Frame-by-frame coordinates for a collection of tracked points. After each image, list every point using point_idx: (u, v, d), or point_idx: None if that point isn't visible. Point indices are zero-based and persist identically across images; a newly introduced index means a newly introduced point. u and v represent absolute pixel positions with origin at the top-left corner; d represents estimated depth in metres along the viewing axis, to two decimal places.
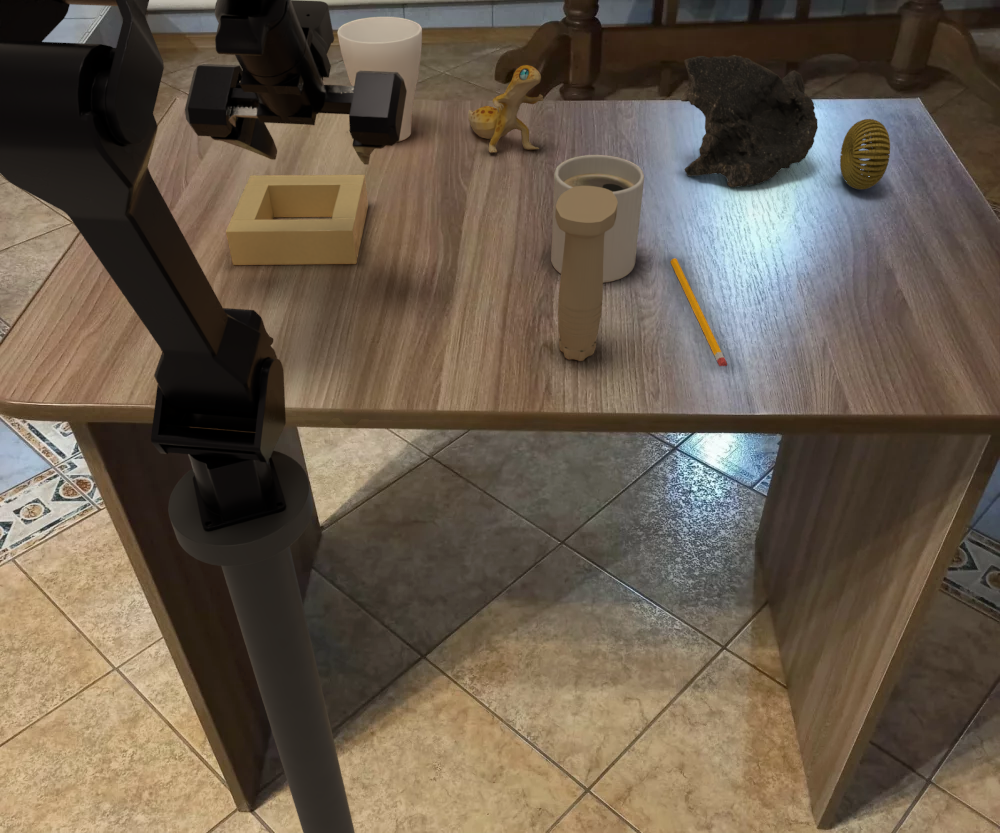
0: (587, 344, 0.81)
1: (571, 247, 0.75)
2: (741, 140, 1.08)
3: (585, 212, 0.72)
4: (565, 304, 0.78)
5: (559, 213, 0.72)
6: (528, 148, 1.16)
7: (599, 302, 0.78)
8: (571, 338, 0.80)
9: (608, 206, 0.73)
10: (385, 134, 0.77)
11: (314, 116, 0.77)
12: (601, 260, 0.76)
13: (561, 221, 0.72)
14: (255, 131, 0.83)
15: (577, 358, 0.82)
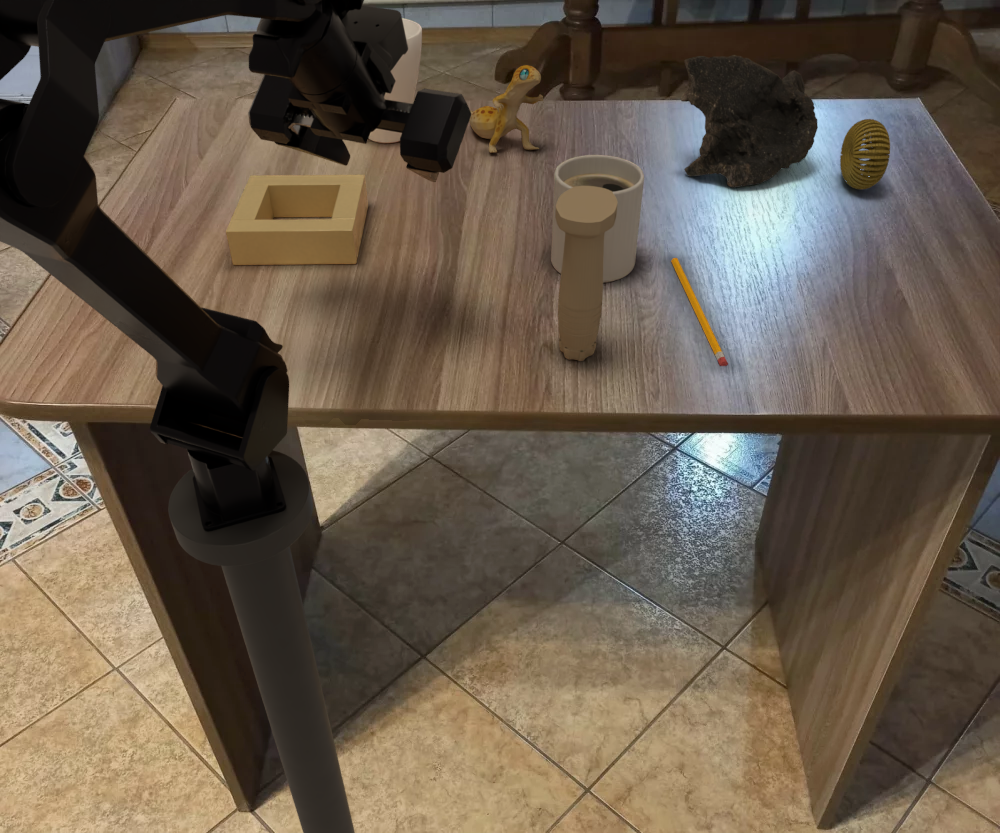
0: (587, 344, 0.81)
1: (571, 247, 0.75)
2: (741, 140, 1.08)
3: (585, 212, 0.72)
4: (565, 304, 0.78)
5: (559, 213, 0.72)
6: (528, 148, 1.16)
7: (599, 302, 0.78)
8: (571, 338, 0.80)
9: (608, 206, 0.73)
10: (435, 161, 0.72)
11: (366, 134, 0.73)
12: (601, 260, 0.76)
13: (561, 221, 0.72)
14: (322, 138, 0.80)
15: (577, 358, 0.82)
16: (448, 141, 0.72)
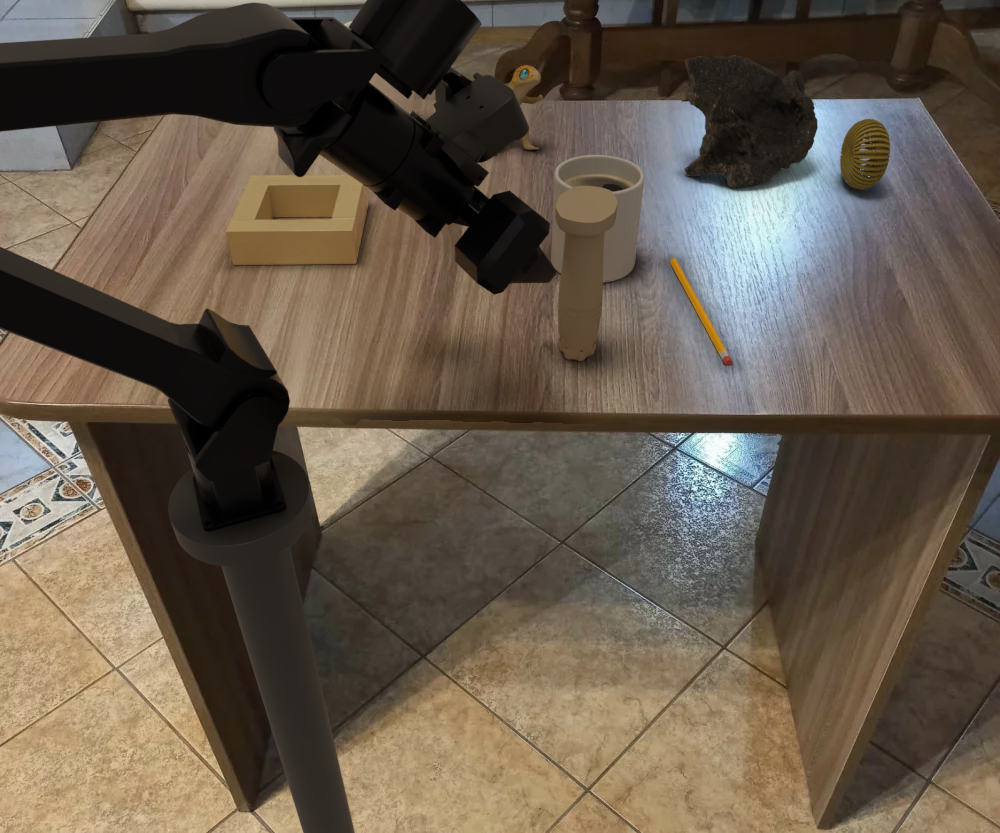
0: (587, 344, 0.81)
1: (571, 247, 0.75)
2: (741, 140, 1.08)
3: (585, 212, 0.72)
4: (565, 304, 0.78)
5: (559, 213, 0.72)
6: (528, 148, 1.16)
7: (599, 302, 0.78)
8: (571, 338, 0.80)
9: (608, 206, 0.73)
10: (477, 283, 0.61)
11: (435, 228, 0.65)
12: (601, 260, 0.76)
13: (561, 221, 0.72)
14: None
15: (577, 358, 0.82)
16: (493, 265, 0.60)
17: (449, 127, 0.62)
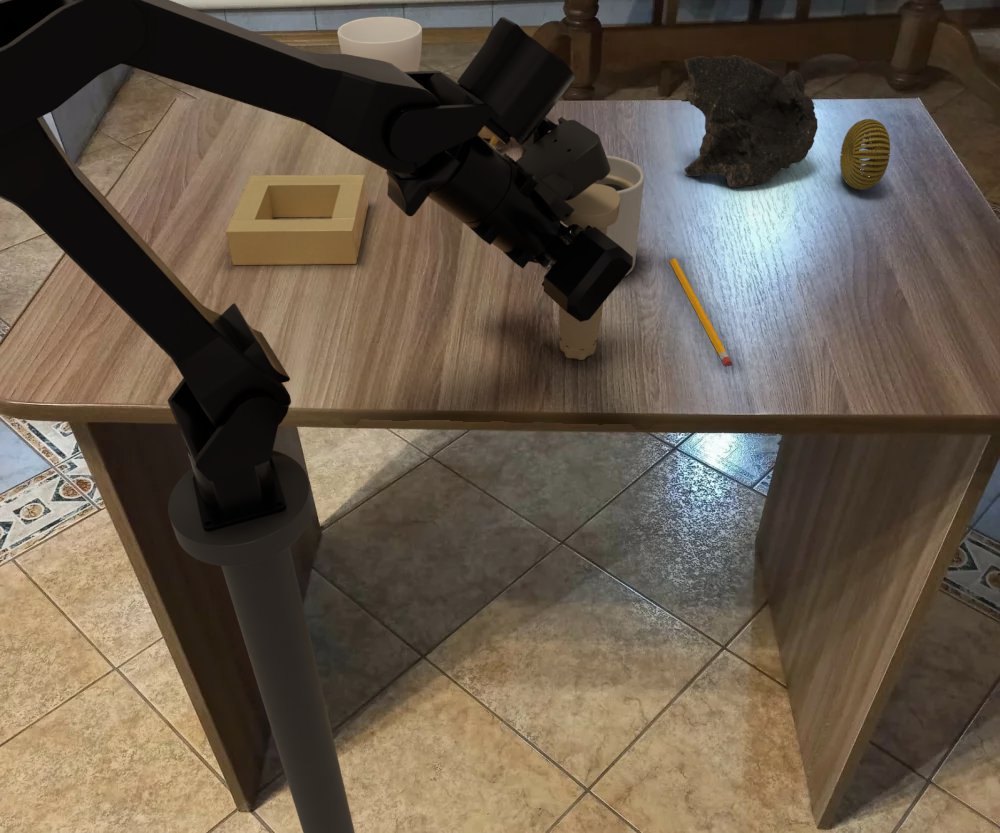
0: (588, 342, 0.81)
1: None
2: (741, 140, 1.08)
3: (588, 207, 0.73)
4: None
5: None
6: None
7: None
8: (572, 336, 0.80)
9: (611, 201, 0.74)
10: (566, 311, 0.67)
11: (524, 260, 0.70)
12: None
13: None
14: None
15: (578, 357, 0.82)
16: (582, 295, 0.66)
17: (539, 168, 0.68)
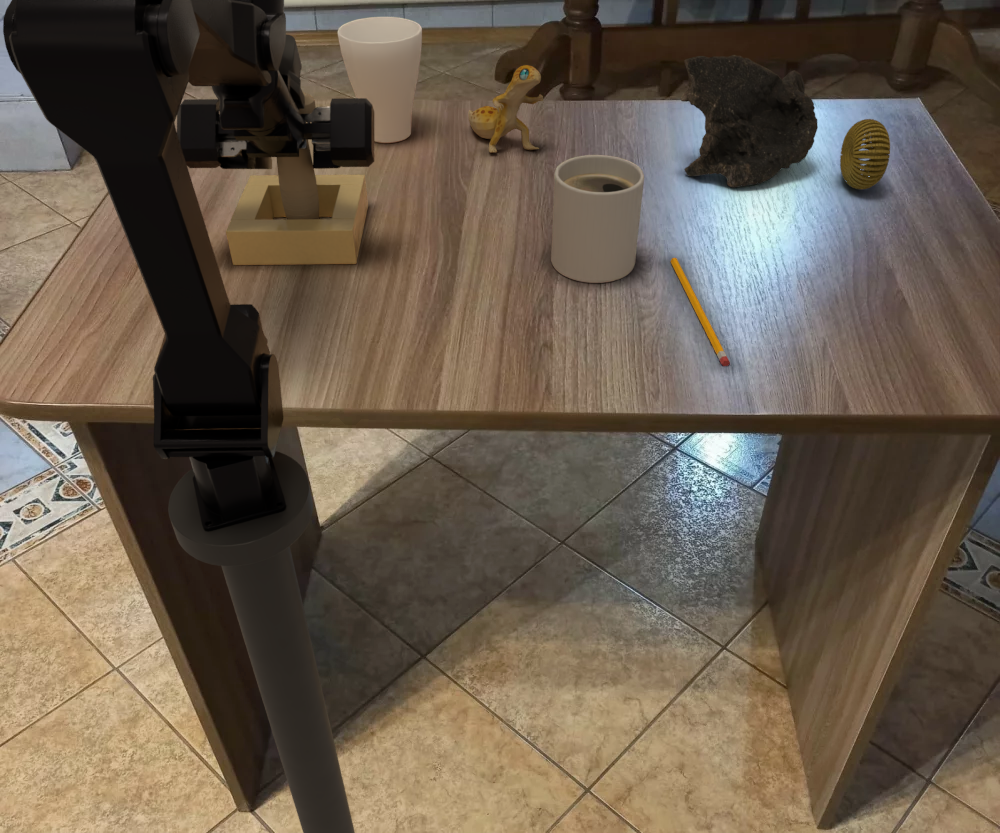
0: (318, 218, 0.98)
1: None
2: (741, 140, 1.08)
3: None
4: (300, 189, 0.95)
5: None
6: (528, 148, 1.16)
7: None
8: (310, 217, 0.97)
9: None
10: (364, 160, 0.87)
11: (298, 149, 0.86)
12: None
13: None
14: None
15: None
16: (370, 141, 0.87)
17: None
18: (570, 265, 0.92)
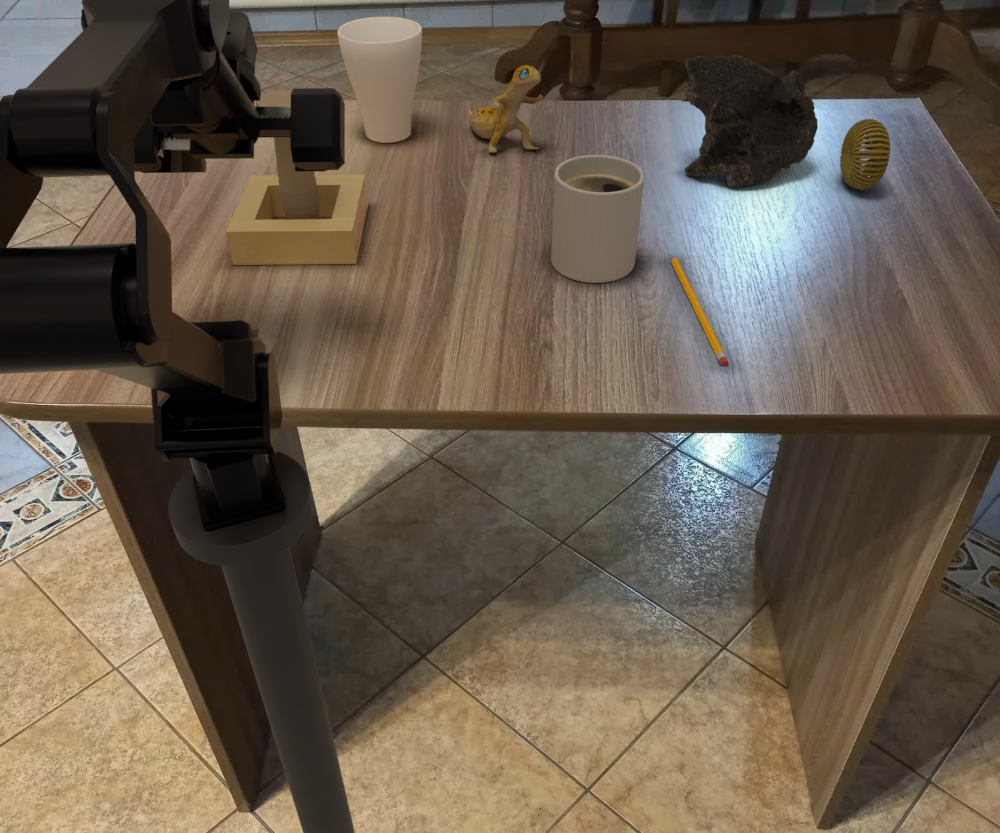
0: None
1: None
2: (741, 140, 1.08)
3: None
4: (300, 192, 0.94)
5: None
6: (528, 148, 1.16)
7: None
8: None
9: None
10: (331, 162, 0.73)
11: (252, 149, 0.72)
12: None
13: None
14: (183, 153, 0.77)
15: None
16: (339, 140, 0.73)
17: None
18: (570, 265, 0.92)
